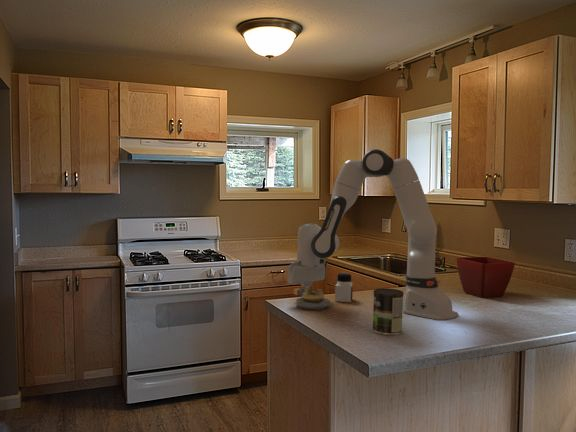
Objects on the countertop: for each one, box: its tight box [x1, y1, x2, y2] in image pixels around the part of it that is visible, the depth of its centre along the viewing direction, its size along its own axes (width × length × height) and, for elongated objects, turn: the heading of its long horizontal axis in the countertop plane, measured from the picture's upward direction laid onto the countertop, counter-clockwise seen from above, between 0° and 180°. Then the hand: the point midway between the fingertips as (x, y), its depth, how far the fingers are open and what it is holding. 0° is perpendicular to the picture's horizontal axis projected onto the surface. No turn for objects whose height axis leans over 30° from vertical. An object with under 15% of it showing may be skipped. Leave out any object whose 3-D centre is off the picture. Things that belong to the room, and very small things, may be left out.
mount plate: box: [295, 296, 331, 311], centre depth 208 cm, size 14×14×3 cm
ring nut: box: [293, 287, 325, 302], centre depth 211 cm, size 16×9×4 cm, turn 38°
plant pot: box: [456, 256, 516, 299], centre depth 238 cm, size 19×19×17 cm
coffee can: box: [372, 288, 404, 336], centre depth 174 cm, size 10×10×14 cm
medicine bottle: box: [334, 272, 354, 303], centre depth 220 cm, size 7×7×12 cm
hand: (306, 292), depth 216 cm, fingers closed
